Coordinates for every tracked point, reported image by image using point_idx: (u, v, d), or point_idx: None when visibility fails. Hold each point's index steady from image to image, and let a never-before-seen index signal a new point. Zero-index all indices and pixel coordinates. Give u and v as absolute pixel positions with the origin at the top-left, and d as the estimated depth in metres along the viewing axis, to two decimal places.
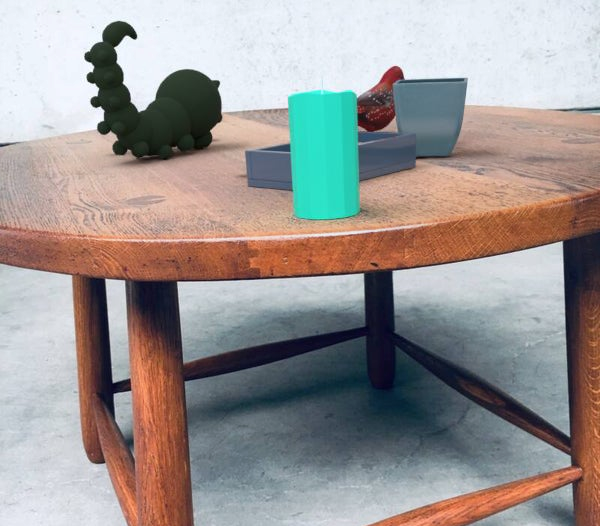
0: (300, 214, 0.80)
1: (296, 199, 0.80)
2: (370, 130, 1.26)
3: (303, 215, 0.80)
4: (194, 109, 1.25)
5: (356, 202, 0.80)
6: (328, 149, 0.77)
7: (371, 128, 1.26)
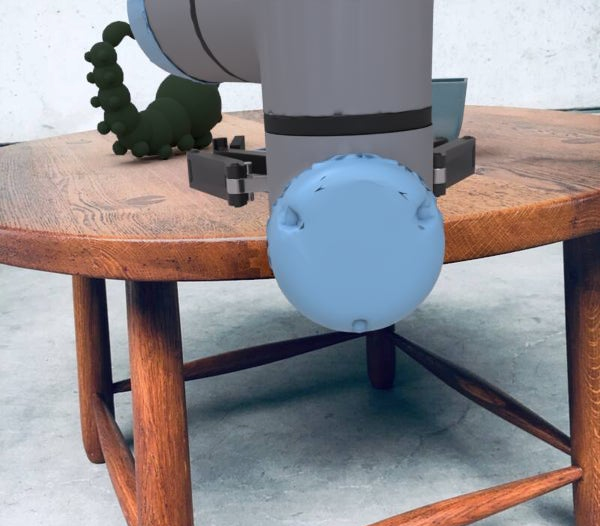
0: None
1: None
2: None
3: None
4: (194, 109, 1.25)
5: None
6: None
7: None
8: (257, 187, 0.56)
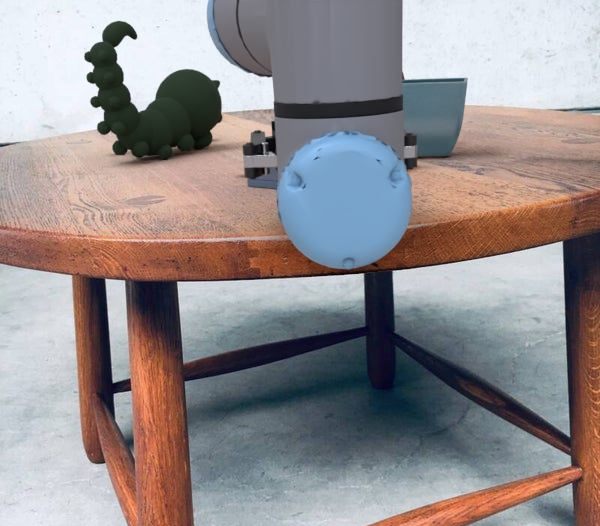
0: None
1: None
2: None
3: None
4: (194, 109, 1.25)
5: None
6: None
7: None
8: (265, 163, 0.69)
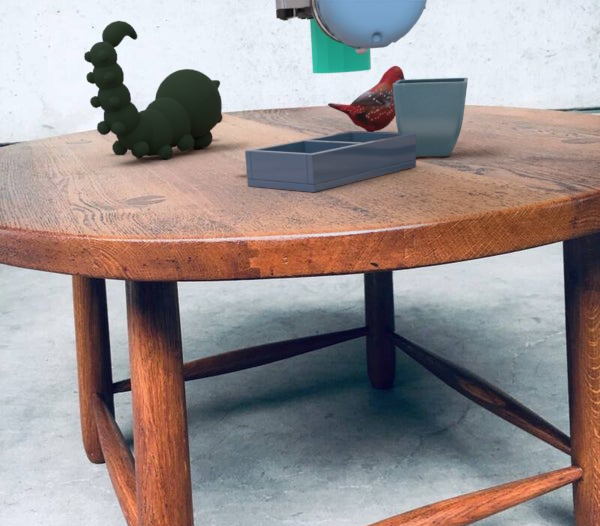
0: (319, 70, 0.91)
1: (315, 56, 0.91)
2: (370, 130, 1.26)
3: (322, 70, 0.91)
4: (194, 109, 1.25)
5: (368, 59, 0.91)
6: None
7: (371, 128, 1.26)
8: (294, 4, 0.79)
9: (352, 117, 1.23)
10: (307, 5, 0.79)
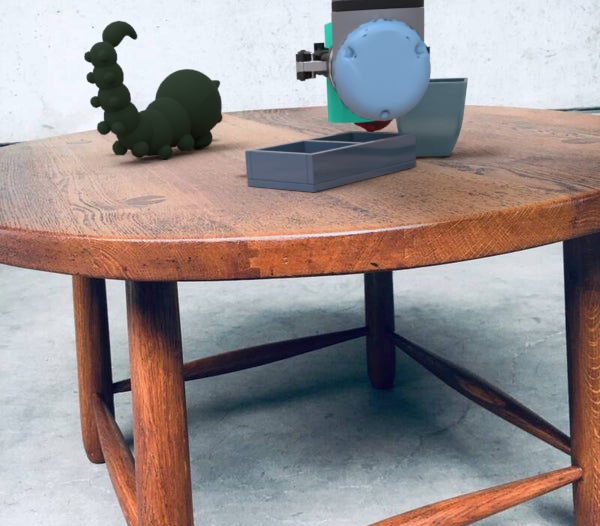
0: (333, 119, 1.01)
1: (330, 107, 1.01)
2: (370, 130, 1.26)
3: (336, 120, 1.01)
4: (194, 109, 1.25)
5: None
6: None
7: (371, 128, 1.26)
8: (312, 68, 0.89)
9: None
10: (324, 69, 0.89)
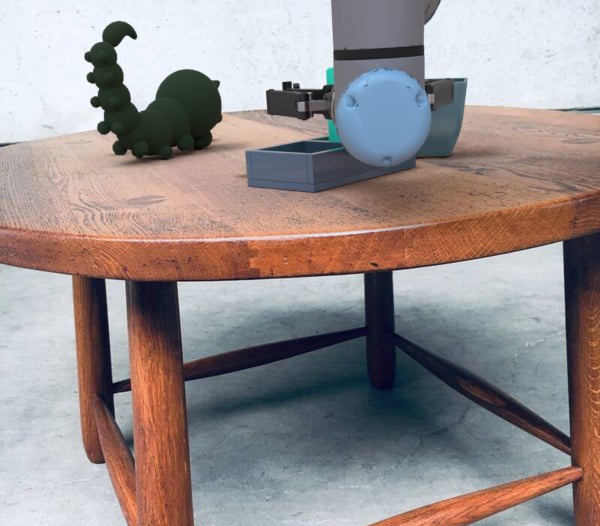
0: None
1: None
2: None
3: None
4: (194, 109, 1.25)
5: None
6: None
7: None
8: (316, 107, 0.90)
9: None
10: (328, 108, 0.90)
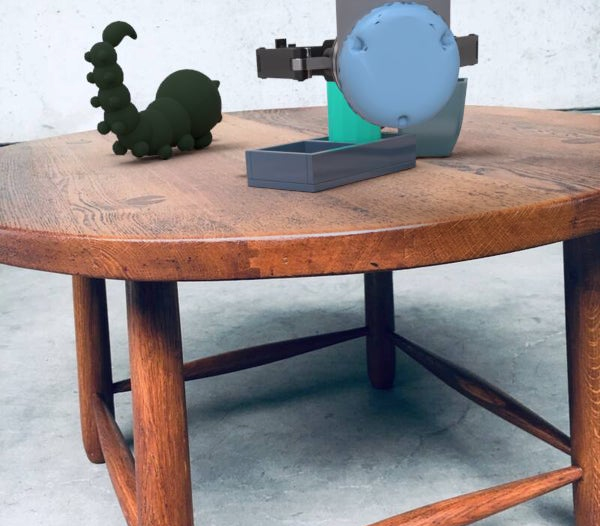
0: None
1: None
2: None
3: None
4: (194, 109, 1.25)
5: None
6: None
7: None
8: (315, 65, 0.75)
9: None
10: (330, 66, 0.75)
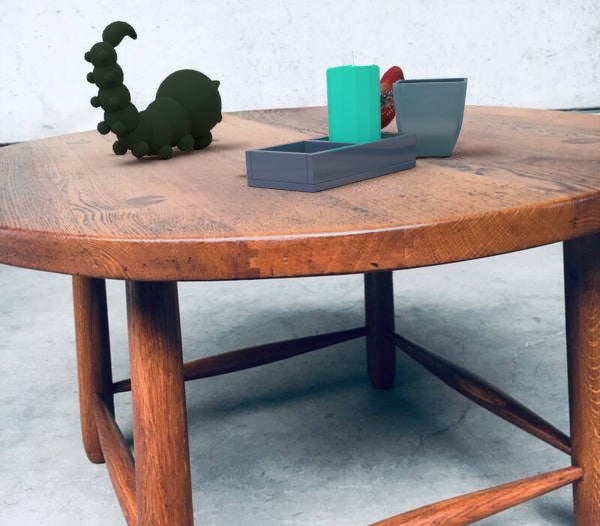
0: None
1: None
2: None
3: None
4: (194, 109, 1.25)
5: None
6: (358, 110, 0.99)
7: None
8: None
9: None
10: None
